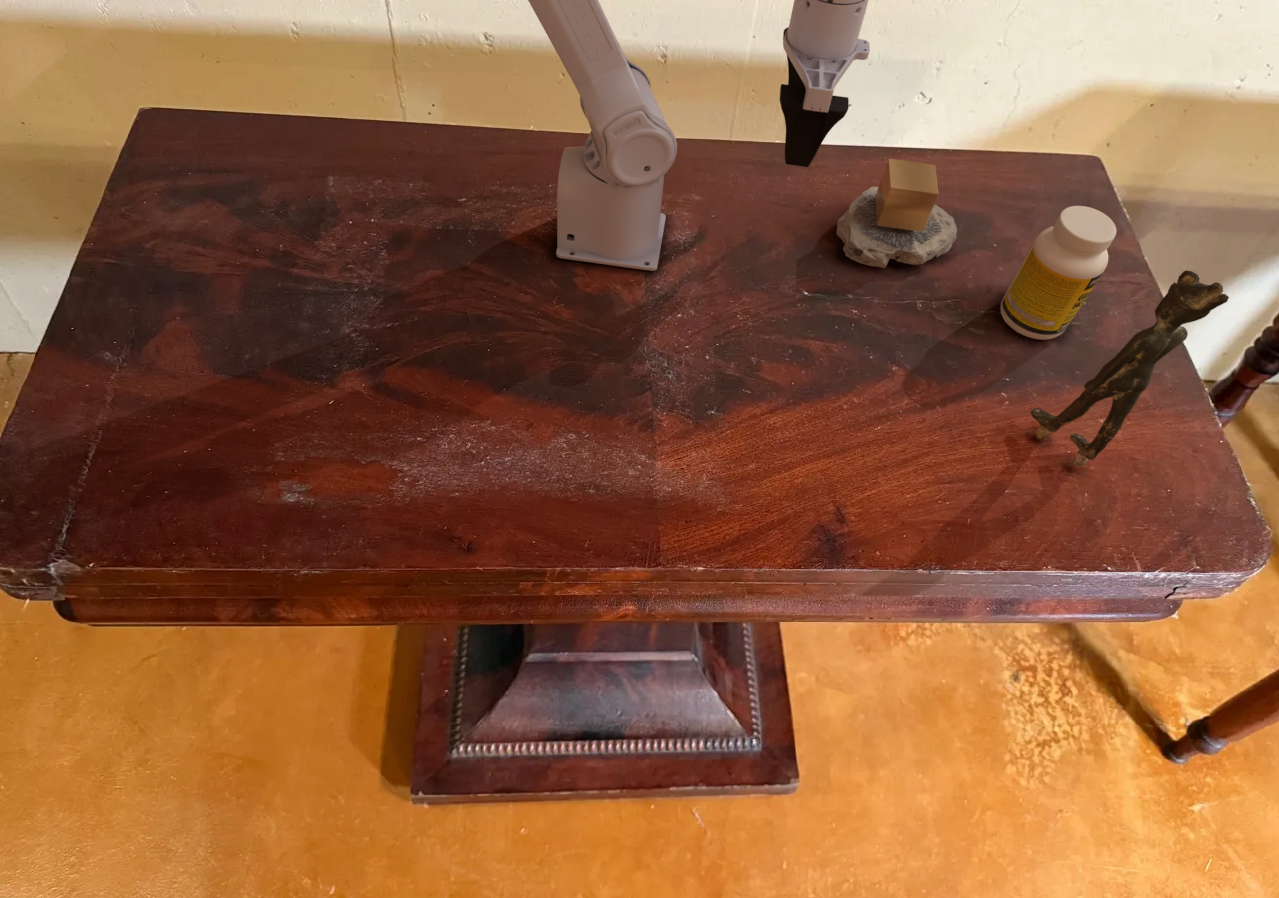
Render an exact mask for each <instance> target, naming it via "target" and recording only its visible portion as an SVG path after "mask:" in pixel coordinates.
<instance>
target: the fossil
mask: <svg viewBox="0 0 1279 898" xmlns="http://www.w3.org/2000/svg"><path fill="white" fill-rule="evenodd" d="M878 188H879V186H873V185H872V186H871V187H869V188H868V189H866V190H864V191H862V192H861V193H860V195H858V196H857V197H856V198H854V200H853V201H852V202H850V204H849V207H848V208H847V210H846V211H845V212H844V213H843V215H842V216H840V218H838V219H837V221H836V226H837V229H836V236H837V237H838V238H839V239H840V240H841V242H843V244H844V245H843V248H842V250H843V252H844V253H845V257H847V258H849V259H850V260H852V261H855V262H857V263H858V264H861V265H866V266H870V267H877V268H882V269H885V268H886V267H887V265H888V263H889V261H890V260H895V261H896V262H897V263H903V264H907V265H908V264H909V265H913V266H918V265H923V264H925V263H926V262H928V261H930V260H932V259H934V258H936V259H937V258H939V257H940V256H943V255H945V254H947V253H948V252H949V251H950V249H951V248H952V247H953V245H954V243H955V242H956V240H957V233H958V228H957V225H956V222H955V218H954V217H953V216H952V215H949V213H948V212H947V211H946V210H945V209H943V208H941V207H940V206H938V205H937V204H934V206H933V209H932V211H931V214H930V216H929V218H928V221H927V223H926V226H925V228H924V231H923V232H920V231H913V230H905V229H898V228H891V227H883V226H877V218H876V198H875V196H876V193H877V190H878Z"/></svg>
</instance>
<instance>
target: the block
mask: <svg viewBox="0 0 1279 898" xmlns="http://www.w3.org/2000/svg"><path fill="white" fill-rule="evenodd" d="M878 187H879V188H878V190H877V193H876V196H875V198H876V218H877V226H883V227H891V228H898V229H905V230H913V231H920V232H923V231H924V228H925V226H926V223H927V221H928V218H929V216H930V214H931V211H932V209H933V206H934V205H936V201H937V200H938V197H939V186H938V177H937V169H936V164H932V163H925V162H918V161H912V160H911V161H910V160H902V159H896V158H888V159H887V162H886V164H885V168H884V171H883V173H882V176H881V179H880V182H879V185H878Z"/></svg>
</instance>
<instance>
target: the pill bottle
mask: <svg viewBox="0 0 1279 898" xmlns="http://www.w3.org/2000/svg"><path fill="white" fill-rule="evenodd" d="M1116 236H1117V226H1116V224H1115V223H1114V221H1113V220H1112V219H1111V218H1110V217H1109V216H1108V215H1107V214H1105V213H1103V212H1102V211H1100V210H1098V209H1096V208H1093V207H1089V206H1084V205H1072V206H1068V207H1066V208H1065V209H1063V210H1062V211H1061V212H1060V213H1059V215H1058V217H1057V218H1056V220H1055V222H1054V224H1053V226H1049V227H1047V228H1045V229H1044V230H1042V231H1040V232H1039V234H1038V235H1037V236H1036V238H1035V240H1034V241H1033V243H1032V244H1031V247H1030V248H1029V250H1028V252H1027V254H1026V255H1025V257H1024V259H1023V261H1022V263H1021V265H1020V266H1019V268H1018V270H1017V271H1016V274H1015V275H1014V277H1013V279H1012V281H1011V283H1010V285H1009V286H1008V288H1007V290H1006V291H1005V293H1004V296H1003V298H1002V299H1001V302H1000V306H999V307H1000V308H999V309H1000V314H1001V317H1002V319H1003V321H1004V322H1005V323H1006V324H1007V325H1008V326H1009V327H1010V328H1011V329H1012V330H1013V331H1015V332H1016V333H1018V334H1020V335H1022V336H1025V337H1027V338H1029V339H1033V340H1034V339H1035V340H1041V341H1042V340H1043V341H1044V340H1045V341H1046V340H1051V339H1056V338H1057V337H1059V336H1061V335H1062V334H1063V333H1064V332H1065V331H1066V330H1067V328H1068V327H1069V325H1071V323H1072V321H1073V320H1074V318H1075V317H1076V315H1077V313H1078V312H1079V310H1080V308H1081V307H1082V305H1083V304H1084V302H1085V301H1086V299H1087V298H1088V296H1089V295H1090V293H1091V292H1092V290H1093V289H1094V288H1095V286H1096V284H1097V283H1098V281H1099V279H1100V278H1101V277H1102V275H1103V273H1104V272H1105V270H1106V268H1107V267H1108V264H1109V253H1108V249H1109V247H1110V246H1111V245H1112V242H1113V241H1114V239H1115V238H1116Z"/></svg>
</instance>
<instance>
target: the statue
mask: <svg viewBox="0 0 1279 898" xmlns="http://www.w3.org/2000/svg"><path fill="white" fill-rule="evenodd" d="M1223 292H1224V286H1223V284H1222V283H1220V282H1217V281H1215V282H1213V283H1212V284H1206V283H1202V282H1200V277H1199V274H1197V273H1196V272H1194V271H1192V270H1184V271H1182V273H1181V274H1179V276H1178V278H1177V282H1176V281H1174V282H1173V283H1172V284H1171V285H1169V288H1168V290H1167V293H1166V294H1165V296H1164V297H1162V299H1161V300H1160V302H1159V303H1158V305H1157V306H1156V308H1155V310H1154V315H1155V319H1156V322H1155V323H1154V324H1153V325H1152V326H1150V327H1148V328H1145V329H1142V330H1140V331H1138V332H1136V333H1135V334H1133V336H1132V337H1131V339H1129V341H1128V342H1127V343H1126V344H1125V345H1124V347H1122V349H1120V350H1119V352H1118V353H1116V355H1115V356H1114V357H1113V358H1112V359H1110V360H1109V361H1108V362H1107V363H1105V364H1104V365H1103V367H1102V368H1101V369H1100V371H1098V373H1097V374H1096V375H1095V376H1094V377H1093V378H1092V379H1090V380H1088V381H1086V383H1084V385H1083V388H1084V390H1083V391H1082V392H1081V394H1080V395H1079V396H1078V397H1077V398H1075V399H1073V401H1072V402H1071V403H1070V404H1069V405H1068V406H1067V407H1066V408H1065V409H1063V410H1062V411H1061V412H1060V413H1059V414H1058V415H1054V414H1051V413H1049V412H1047V411H1045V410H1044V409H1042V408H1040V407H1037V408H1036V407H1034V408H1033V409H1032V410H1031V411H1030V415H1031V418H1033V419H1034V420H1035V421H1036V422H1038V424H1039V426H1038V428H1037V430H1036V431H1035V433H1034V437H1035V438H1036V440H1037V441H1039V442H1044V441H1045V440H1046V439H1047V438H1048V437H1049V436H1050V435H1051V434H1053V433H1056V432H1058V431H1059V430H1060V429H1061V428H1062V427H1064V426H1066V425H1068V424H1070V423H1071V422H1074V421H1076V420H1078V419H1079V418H1082V417H1083V416H1084V415H1085V414H1087V413H1088V412H1089V410H1090V409H1091V408H1092V407H1093V406H1094V405H1095V404H1096V403H1098V402H1100V401H1103V400H1105V399H1108V398H1110V399H1111V398H1112V403H1111V407H1110V410H1109V413H1108V415H1107V417H1106V418H1105V420H1104V421H1103V423H1102V425H1101V426H1100V428H1099V430H1098V432H1097V434H1096V435H1095V437H1094V438H1093V440H1092V441H1091V442H1089V441H1088V440H1087V439H1086V438H1085V437H1084V436H1082V435H1080V434H1078V433H1073V434H1070V436H1069V440H1070V441H1071V442H1072V443H1073V444H1074V445H1075V446H1076V447H1077V448H1078V451H1077V452H1076V454H1075V456H1074V457H1073V458H1072V464H1073V465H1074V466H1075V467H1077V468H1080V467H1082V466H1085V465H1086V464H1087V462H1088V461H1094V459H1096V458H1097V457H1098V455H1099V454H1100V453H1101V452H1102V451H1104V450H1105V448H1106V447H1107V446H1108V444H1109V443H1110V442H1111V441H1112V440H1113V439H1114V438H1115V437H1116V435H1118V433H1119V432H1120V431H1121V429H1122V427H1123V424H1124V422H1125V420H1126V418H1127V417H1128V415H1129V414H1130V412H1131V411H1133V409H1134V407H1135V405H1137V402H1138V400H1139V399H1140V397H1141V396H1142V393H1143V392H1145V391H1146V390H1147V389H1148V387H1149V385H1150V383H1151V379H1152V376H1153V373H1154V369H1155V366H1156V364H1157V363H1158V362H1159V361H1160V360H1161V359H1162V358H1164V357H1165V356H1167V355H1168V354H1169V353H1170V352H1171V351H1173V350H1174V349H1176V348H1177V347H1178V346H1180V345H1181V344H1182V343H1183V342H1184V341H1186V340H1187V338H1188V330H1187V328H1186V327H1185V326H1183V325H1184V324H1189V323H1193V322H1196V321H1198V320H1202V319H1204V318H1206V317H1207V316H1208V315H1209V314H1210V313H1211V312H1212V311H1213V310H1215V309H1216V308H1217V307H1220V306H1222V305H1224V304H1226V303H1228V300H1229V299H1230V297H1229V295H1227V294H1226V293H1223Z"/></svg>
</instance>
